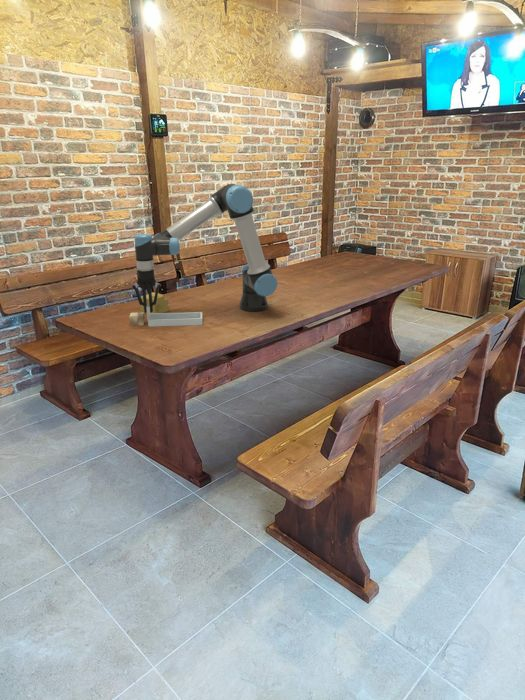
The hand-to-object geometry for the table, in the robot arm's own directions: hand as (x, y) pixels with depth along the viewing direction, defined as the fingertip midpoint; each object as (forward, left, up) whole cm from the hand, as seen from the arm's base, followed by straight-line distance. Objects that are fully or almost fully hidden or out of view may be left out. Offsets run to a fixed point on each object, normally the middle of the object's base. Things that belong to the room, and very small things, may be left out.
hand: (149, 319), depth 230 cm
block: (+2, 0, -1) cm, 3 cm away
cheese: (-1, -18, -4) cm, 18 cm away
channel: (-12, 0, -3) cm, 12 cm away
